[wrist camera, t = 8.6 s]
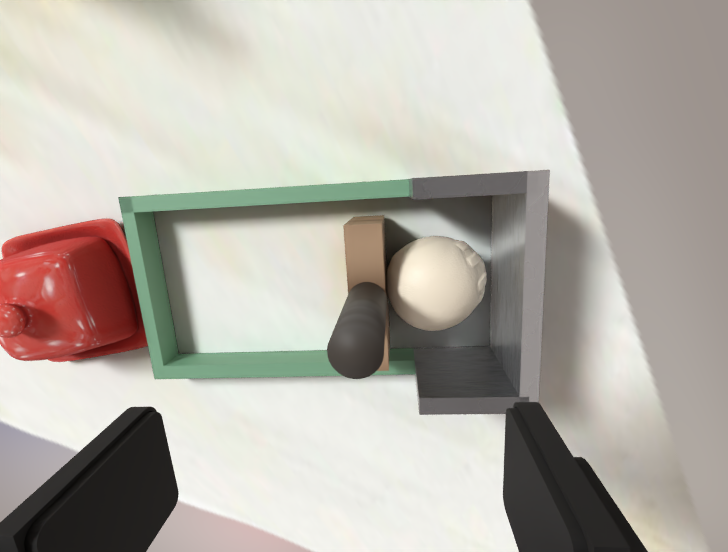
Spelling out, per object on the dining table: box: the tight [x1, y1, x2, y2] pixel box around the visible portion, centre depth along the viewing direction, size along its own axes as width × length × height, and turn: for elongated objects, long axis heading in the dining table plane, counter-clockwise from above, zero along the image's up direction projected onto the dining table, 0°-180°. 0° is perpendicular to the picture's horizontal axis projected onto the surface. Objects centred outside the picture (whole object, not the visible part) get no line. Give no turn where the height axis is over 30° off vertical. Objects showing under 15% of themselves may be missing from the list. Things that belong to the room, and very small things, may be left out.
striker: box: [327, 215, 390, 379], centre depth 25 cm, size 10×3×14 cm, turn 4°
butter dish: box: [0, 219, 148, 362], centre depth 30 cm, size 12×12×8 cm
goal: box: [409, 170, 550, 415], centre depth 28 cm, size 15×8×8 cm, turn 4°
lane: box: [118, 179, 415, 379], centre depth 32 cm, size 15×22×2 cm
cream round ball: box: [386, 236, 487, 331], centre depth 28 cm, size 7×7×7 cm
